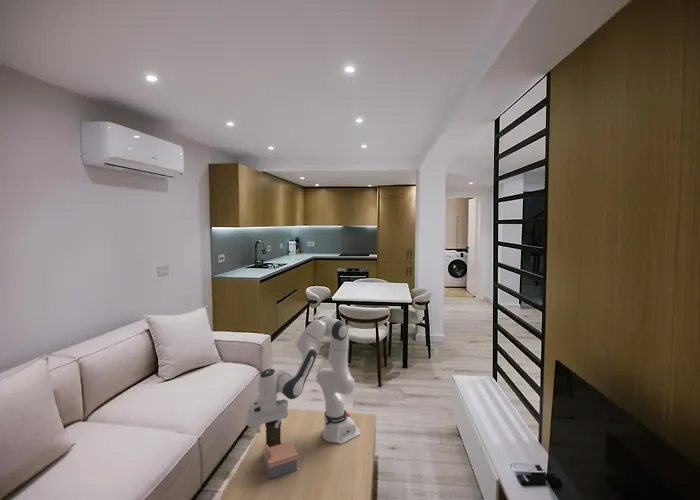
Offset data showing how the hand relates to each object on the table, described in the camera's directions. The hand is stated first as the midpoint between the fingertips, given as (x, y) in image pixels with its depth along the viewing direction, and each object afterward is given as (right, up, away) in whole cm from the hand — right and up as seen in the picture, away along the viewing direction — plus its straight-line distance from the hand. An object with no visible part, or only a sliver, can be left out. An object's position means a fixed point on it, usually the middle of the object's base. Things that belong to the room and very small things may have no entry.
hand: (267, 429), depth 177 cm
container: (-1, -22, +17) cm, 27 cm away
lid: (+6, -16, +5) cm, 17 cm away
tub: (+5, -23, +5) cm, 24 cm away
